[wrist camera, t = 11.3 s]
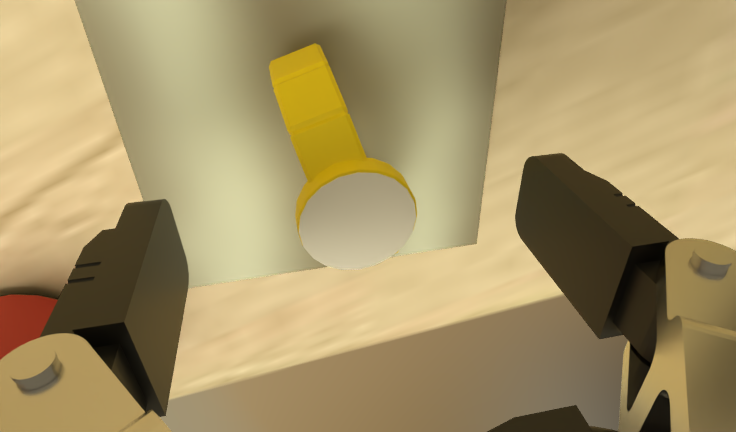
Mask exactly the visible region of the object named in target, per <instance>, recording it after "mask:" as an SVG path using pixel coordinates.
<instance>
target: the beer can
mask: <svg viewBox="0 0 736 432" xmlns="http://www.w3.org/2000/svg"><path fill="white" fill-rule="evenodd" d="M57 301H58V299H54V298H50V297H46V296H41V295H22V294H12V295H6V296H1V297H0V360H1V359H2V358H3V357H4V356H6V355H7V354H8V353H10V352H11V351H13V350H14V349H16V348H18V347H19V346H21V345H23V344H25V343H27V342H29V341H32V340H34V339H37V338H39V337H40V335H41V333H42V331H43V329H44V327H45V325H46V323H47V321H48V319H49V317H50V315H51V313H52V311H53V309H54V307H55V305H56V303H57Z"/></svg>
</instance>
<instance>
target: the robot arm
mask: <svg viewBox="0 0 736 432" xmlns="http://www.w3.org/2000/svg"><path fill="white" fill-rule="evenodd" d="M515 220H516V227H517V231H518V234H519V236H520V238H521V239H522V241H523V242H524V243H525V244H526V246H527V247H528V248H529V250H530V251H531V252H532V253H533V255H534V256H535V257H536V259H537V260H538V261H539V262H540V264H541V265H542V266H543V268H544V269H545V270H546V271H547V273H548V274H549V275H550V277H551V278H552V279H553V280H554V282H555V283H556V284H557V286H558V287H559V288H560V289H561V291H562V292H563V293H564V295H565V296H566V297H567V298H568V300H569V301H570V302H571V303H572V305H573V306H574V307H575V309H576V310H577V311H578V312H579V314H580V315H581V316H582V318H583V319H584V320H585V321H586V323H587V324H588V326H589V327H590V328H591V329H592V331H593V332H594V333H595V334H596V336H597V337H598V338H599V339H603V338H608V337H614V336H619V335H624V336H625V337H626V338H627V339H628V342H627V345H626V347H625V349H624V353H623V369H622V383H621V399H620V414H619V426H618V431H615V430H611V429H606V428H599V427H593V426H589V425H588V423H587V422H586V420H585V419H584V417H583V416H582V414H581V412H580V411H579V409H578V408H577V406H576V405H574V406H569V407H564V408H559V409H554V410H549V411H545V412H540V413H534V414H529V415H525V416H520V417H515V418H512V419H511V420H509V421H507V422H505V423H503V424H501V425H499V426H497V427H495V428H493V429H491V430H490V431H488V432H736V251H735V250H733V249H731V248H729V247H726V246H724V245H721V244H718V243H715V242H712V241H708V240H702V239H694V238H685V239H679V238H677V237H676V236H675V235H674V234H672V233H671V232H670V231H669V230H667V229H666V228H665V227H664V226H663V225H661V224H660V223H659V222H658V221H656V220H655V219H654V218H653V217H651V216H650V215H649V214H648V213H646V212H645V211H644V210H643V209H641V208H640V207H639V206H635V203H634V202H633V201H632V200H630V199H629V198H628V197H627V196H623V195H622V192H620V191H619V190H618V189H617V188H615V187H614V186H613V185H612V184H610V183H609V182H608V181H606V180H604V179H602V178H600V177H598V176H595V175H593V174H591V173H589V172H587V171H584V170H583V169H582V168H581V167H580V166H578V165H577V164H576V163H575V162H574V161H572V160H571V159H570V158H569V157H568V156H566V155H565V154H563V153H558V154H549V155H541V156H532V157H529V158H528V159H527V160H526V162H525V165H524V169H523V174H522V180H521V185H520V191H519V197H518V202H517V208H516V215H515ZM75 266H76V268H75V269H73V270H72V272H71V274H70V276H69V278H68V284H66V285H65V287H64V289H63V291H62V293H61V295H60V297H59V299H58V301H57V303H56V305H55V307H54V309H53V311H52V313H51V315H50V317H49V319H48V321H47V323H46V325H45V327H44V329H43V331H42V333H41V335H40V337H39V338H37V339H34V340H32V341H29V342H27V343H25V344H23V345H21V346H19V347H18V348H16V349H14V350H13V351H11V352H10V353H8V354H7V355H6V356H4V357H3V358H2V359H1V360H0V432H172V431H171V430H170V429H169V428H168V427H167V425H166V424H165V423H164V422H163V421H162V419H161V418H160V417H161V416H166V410H167V405H168V399H169V393H170V388H171V382H172V376H173V371H174V365H175V359H176V354H177V348H178V342H179V337H180V331H181V325H182V320H183V314H184V308H185V302H186V297H187V291H188V285H189V272H188V264H187V259H186V255H185V252H184V249H183V245H182V242H181V239H180V236H179V232H178V229H177V226H176V222H175V219H174V216H173V213H172V209H171V207H170V204H169V202H168V201H167V200H166V199H160V200H151V201H142V202H134V203H128V204H126V205H125V207H124V210H123V212H122V214H121V217H120V219H119V221H118V224H117V226H116V228H115V229H109V230H102V231H101V232H100V233H99V234H98V235H97V236H96V237H95V238H94V239H92V240H91V241H90V242H89V243H88V244H87V245H86V246H85V247H84V248H83V250H82V252H81V254H80V256H79V258H78V260H77V262H76V264H75Z"/></svg>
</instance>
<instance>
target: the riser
mask: <svg viewBox="0 0 736 432" xmlns="http://www.w3.org/2000/svg"><path fill="white" fill-rule="evenodd" d="M75 3H76V6H77V9H78V12H79V14H80V17H81V20H82V23H83V26H84V29H85V32H86V35H87V38H88V41H89V44H90V46H91V49H92V52H93V55H94V58H95V61H96V64H97V67H98V70H99V73H100V76H101V79H102V81H103V84H104V87H105V90H106V93H107V96H108V99H109V102H110V105H111V108H112V111H113V113H114V116H115V119H116V122H117V125H118V128H119V131H120V134H121V137H122V140H123V143H124V146H125V148H126V151H127V154H128V157H129V160H130V163H131V166H132V169H133V172H134V175H135V178H136V180H137V183H138V186H139V189H140V192H141V195H142V198H143V201H151V200H160V199H166V200H167V201H168V202H169V204H170V207H171V209H172V213H173V216H174V219H175V222H176V226H177V229H178V232H179V236H180V239H181V242H182V245H183V249H184V252H185V255H186V259H187V264H188V272H189V285H188V288H194V287H200V286H207V285H213V284H219V283H226V282H232V281H239V280H245V279H252V278H258V277H265V276H271V275H278V274H284V273H291V272H297V271H304V270H310V269H317V268H323V267H328V266H325V265H324V264H322V263H320V262H318V261H317V260H315V259H313V258H312V257H311V255H310V254H309V253H308V252H307V251H306V249H305V248H304V247H303V245H302V243H301V240H300V237H299V234H298V230H297V224H296V218H295V213H296V202H297V199H298V197H299V195H300V193H301V190H302V188H303V186H304V185H305V184H306V182H307V178H306V176H305V173H304V171H303V168H302V166H301V164H300V161H299V159H298V156H297V154H296V151H295V149H294V146H293V144H292V141H291V139H290V137H291V135H290V134H289V133H288V131H287V128H286V125H285V122H284V119H283V116H282V113H281V110H280V107H279V104H278V102H277V99H276V96H275V93H274V88H273V86H272V81H271V76H270V70H269V65H270V62H271V61H272V60H275V59H277V58H280V57H282V56H285V55H287V54H290V53H292V52H295V51H297V50H300V49H302V48H305V47H307V46H309V45H312V44H314V43H316V44H318V45H320V46H321V48H322V51H323V53H324V55H325V57H326V59H327V61H328V64H329V66H330V68H331V71H332V73H333V76H334V78H335V80H336V83H337V85H338V88H339V90H340V92H341V95H342V97H343V100H344V102H345V105H346V107H347V110H348V114H350V117H351V119H352V122H353V124H354V127H355V130H356V132H357V135H358V137H359V140H360V142H361V145H362V147H363V150H364V152H365V155H366V157H367V158H374V159H377V160H380V161H383V162H385V163H388V164H390V165H391V166H392V167H393V168H395V169H396V170H397V171H398V172H400V173H401V174H402V176H403V177H404V179H405V181H406V183H407V184H408V186H409V188H410V190H411V192H412V194H413V195H414V197H415V200H416V207H417V218H416V222H415V226H414V230H413V232H412V234H411V235H410V237H409V238H408V240H407V241H406V243H405V245H404V246H403V247H402V248H401V249H400V250H399V251H398V253H396V254H394V255H393V256H392V257H395V256H401V255H408V254H414V253H421V252H427V251H434V250H440V249H447V248H453V247H460V246H466V245H473V244H477V236H478V227H479V219H480V211H481V203H482V195H483V187H484V179H485V171H486V162H487V154H488V146H489V138H490V130H491V122H492V114H493V106H494V97H495V89H496V81H497V73H498V65H499V57H500V49H501V41H502V33H503V24H504V16H505V8H506V0H75Z"/></svg>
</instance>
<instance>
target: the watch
mask: <svg viewBox="0 0 736 432" xmlns="http://www.w3.org/2000/svg"><path fill="white" fill-rule="evenodd" d="M269 70H270V76H271V81H272V86H273V88H274V93H275V96H276V99H277V102H278V104H279V107H280V110H281V113H282V116H283V119H284V122H285V125H286V128H287V131H288V133H289V134H290V135H291V137H290V139H291V141H292V144H293V146H294V149H295V151H296V154H297V156H298V159H299V161H300V164H301V166H302V168H303V171H304V173H305V176H306V178H307V182H306V184H305V185H304V186H303V188H302V190H301V193H300V195H299V197H298V199H297V202H296V213H295V218H296V224H297V230H298V234H299V237H300V240H301V243H302V245H303V247H304V248H305V249H306V251H307V252H308V253H309V254H310V255H311V257H312V258H313V259H315V260H317V261H318V262H320V263H322V264H324V265H325V266H328V267H332V268H336V269H340V270H359V269H363V268H367V267H371V266H374V265H377V264H379V263H381V262H383V261H385V260H386V259H388V258H390V257H392V256H393V255H394V254H396V253H398V251H399V250H400V249H401V248H402V247H403V246H404V245H405V243H406V241H407V240H408V238H409V237H410V235H411V234H412V232H413V230H414V226H415V222H416V218H417V207H416V200H415V197H414V195H413V194H412V192H411V190H410V188H409V186H408V184H407V183H406V181H405V179H404V177H403V176H402V174H401V173H400V172H398V171H397V170H396V169H395V168H393V167H392V166H391V165H390V164H388V163H385V162H383V161H380V160H377V159H374V158H367V157H366V155H365V152H364V150H363V147H362V145H361V142H360V140H359V137H358V135H357V132H356V130H355V127H354V124H353V122H352V119H351V117H350V114H348V110H347V107H346V105H345V102H344V100H343V97H342V95H341V92H340V90H339V88H338V85H337V83H336V80H335V78H334V76H333V73H332V71H331V68H330V66H329V64H328V61H327V59H326V57H325V55H324V53H323V51H322V48H321V46H320V45H318V44H316V43H314V44H312V45H309V46H307V47H305V48H302V49H300V50H297V51H295V52H292V53H290V54H287V55H285V56H282V57H280V58H277V59H275V60H272V61H271V62H270V65H269Z"/></svg>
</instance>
